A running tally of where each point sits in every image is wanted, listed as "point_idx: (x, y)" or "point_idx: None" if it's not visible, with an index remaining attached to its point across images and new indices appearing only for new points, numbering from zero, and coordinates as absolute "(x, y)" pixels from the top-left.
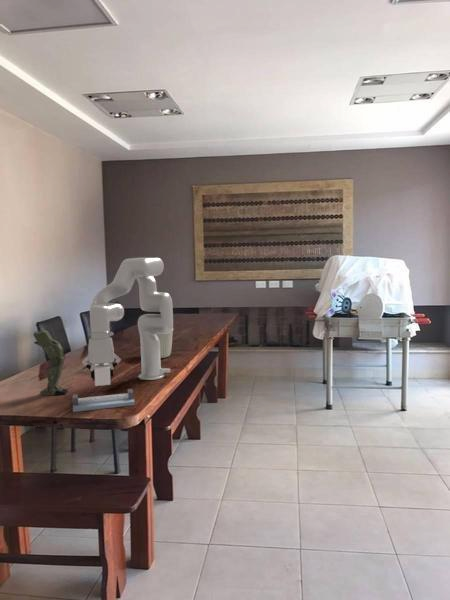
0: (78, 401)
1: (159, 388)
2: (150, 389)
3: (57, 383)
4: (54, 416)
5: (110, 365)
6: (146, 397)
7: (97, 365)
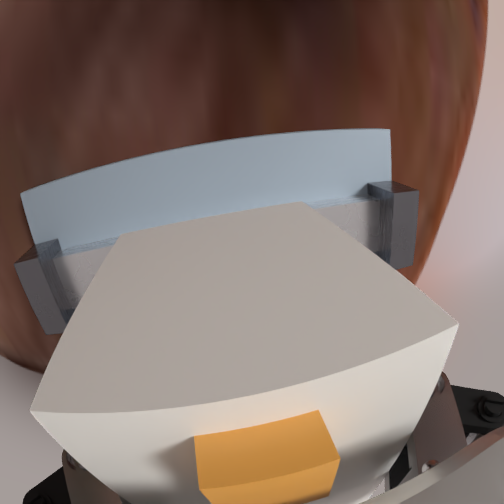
0: (75, 305)
1: (475, 50)
2: (449, 41)
3: None
4: (40, 364)
5: (398, 476)
6: (435, 168)
7: (182, 494)
